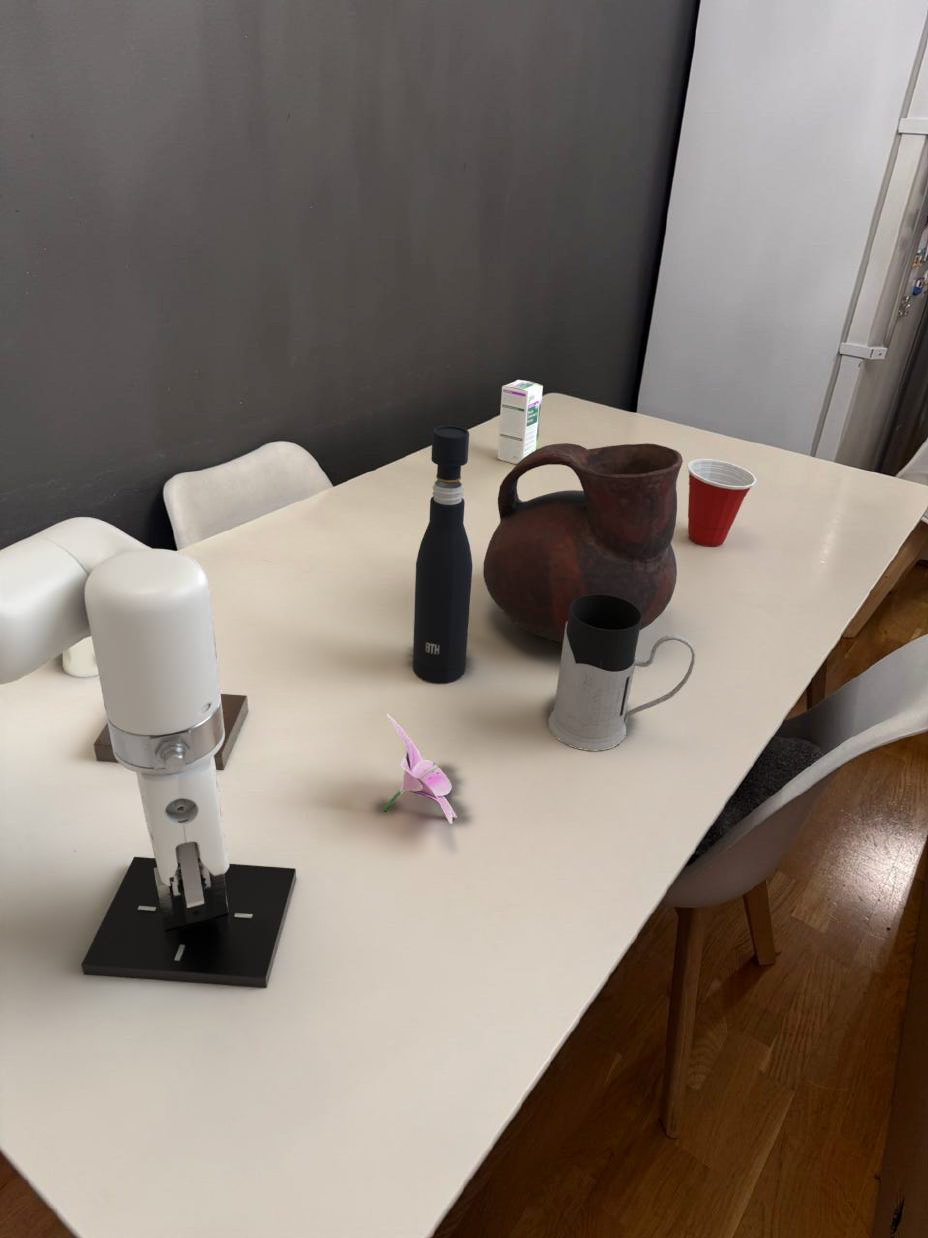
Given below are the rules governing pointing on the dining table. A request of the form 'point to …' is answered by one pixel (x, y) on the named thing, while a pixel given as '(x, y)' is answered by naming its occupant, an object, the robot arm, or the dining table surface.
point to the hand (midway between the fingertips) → (193, 905)
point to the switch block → (233, 721)
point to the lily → (422, 776)
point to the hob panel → (194, 931)
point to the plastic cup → (715, 499)
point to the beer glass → (81, 659)
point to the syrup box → (519, 420)
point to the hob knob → (167, 904)
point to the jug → (586, 535)
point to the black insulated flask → (444, 568)
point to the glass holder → (600, 672)
